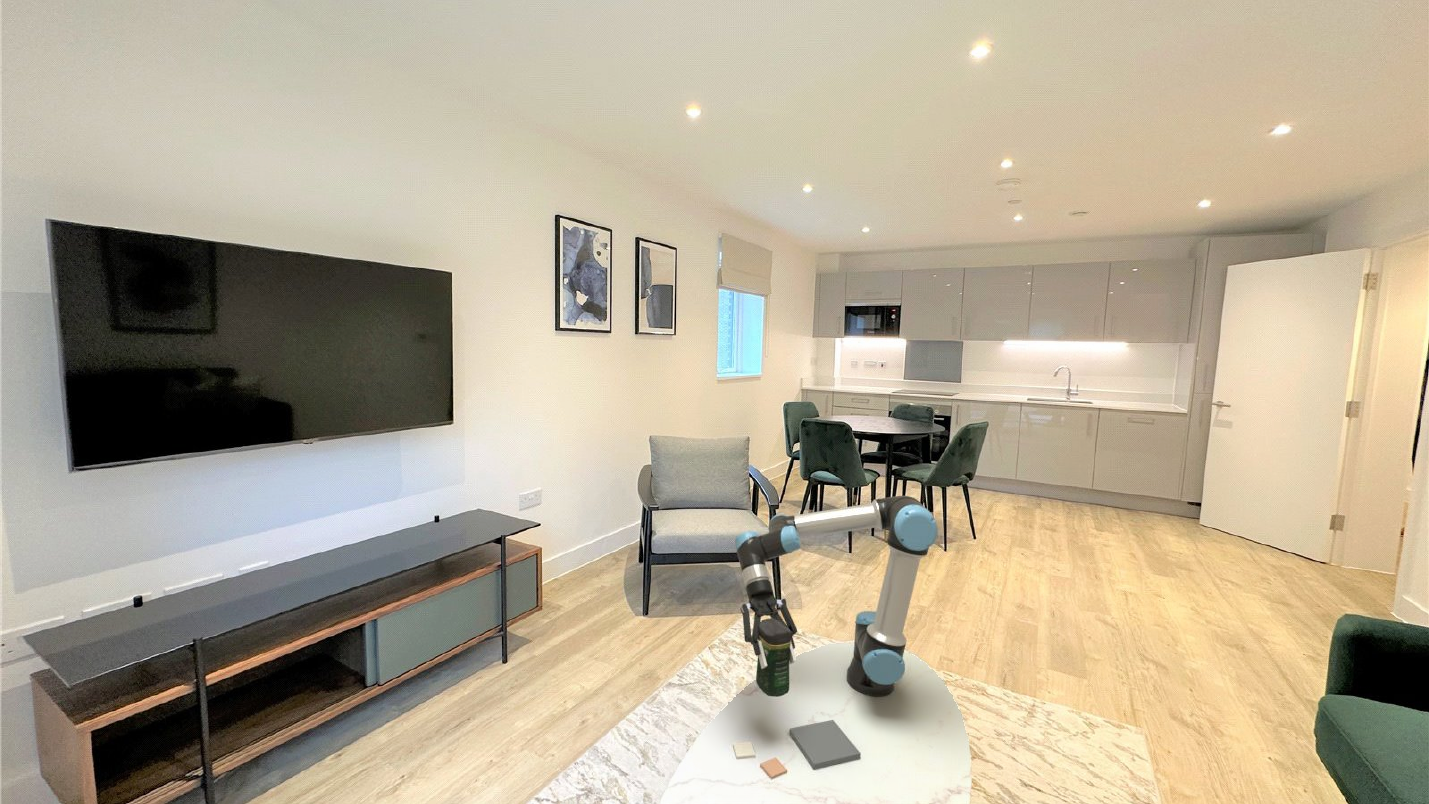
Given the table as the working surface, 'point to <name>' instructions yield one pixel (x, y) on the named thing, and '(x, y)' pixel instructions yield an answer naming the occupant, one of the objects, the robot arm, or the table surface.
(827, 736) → the slate plate
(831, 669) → the table surface
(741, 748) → the tile
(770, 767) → the tile
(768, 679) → the coffee jar
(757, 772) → the table surface
